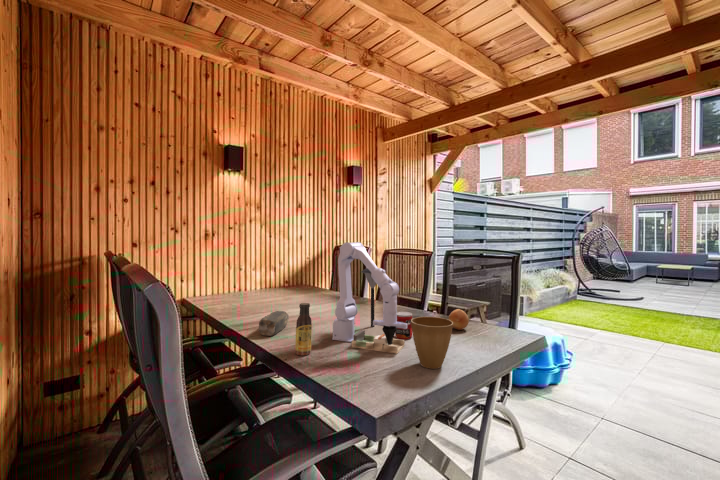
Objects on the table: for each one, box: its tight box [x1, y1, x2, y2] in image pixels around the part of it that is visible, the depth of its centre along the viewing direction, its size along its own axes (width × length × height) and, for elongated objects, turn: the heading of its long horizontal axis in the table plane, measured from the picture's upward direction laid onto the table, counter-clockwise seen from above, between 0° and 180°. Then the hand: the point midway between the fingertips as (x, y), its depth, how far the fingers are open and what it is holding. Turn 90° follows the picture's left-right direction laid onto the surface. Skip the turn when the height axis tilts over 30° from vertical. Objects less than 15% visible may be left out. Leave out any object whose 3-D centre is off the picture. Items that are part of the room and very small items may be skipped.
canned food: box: [394, 311, 413, 341], centre depth 155 cm, size 8×8×11 cm
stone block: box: [258, 310, 290, 337], centre depth 166 cm, size 20×9×10 cm
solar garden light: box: [360, 267, 377, 328], centre depth 174 cm, size 12×12×30 cm
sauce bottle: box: [294, 302, 313, 357], centre depth 134 cm, size 6×6×20 cm
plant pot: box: [411, 316, 454, 370], centre depth 122 cm, size 15×15×16 cm
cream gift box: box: [374, 333, 388, 345], centre depth 142 cm, size 5×6×4 cm
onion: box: [447, 308, 470, 331], centre depth 169 cm, size 10×10×10 cm
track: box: [351, 329, 406, 355], centre depth 142 cm, size 20×10×5 cm, turn 66°
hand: (389, 344), depth 140 cm, fingers closed
